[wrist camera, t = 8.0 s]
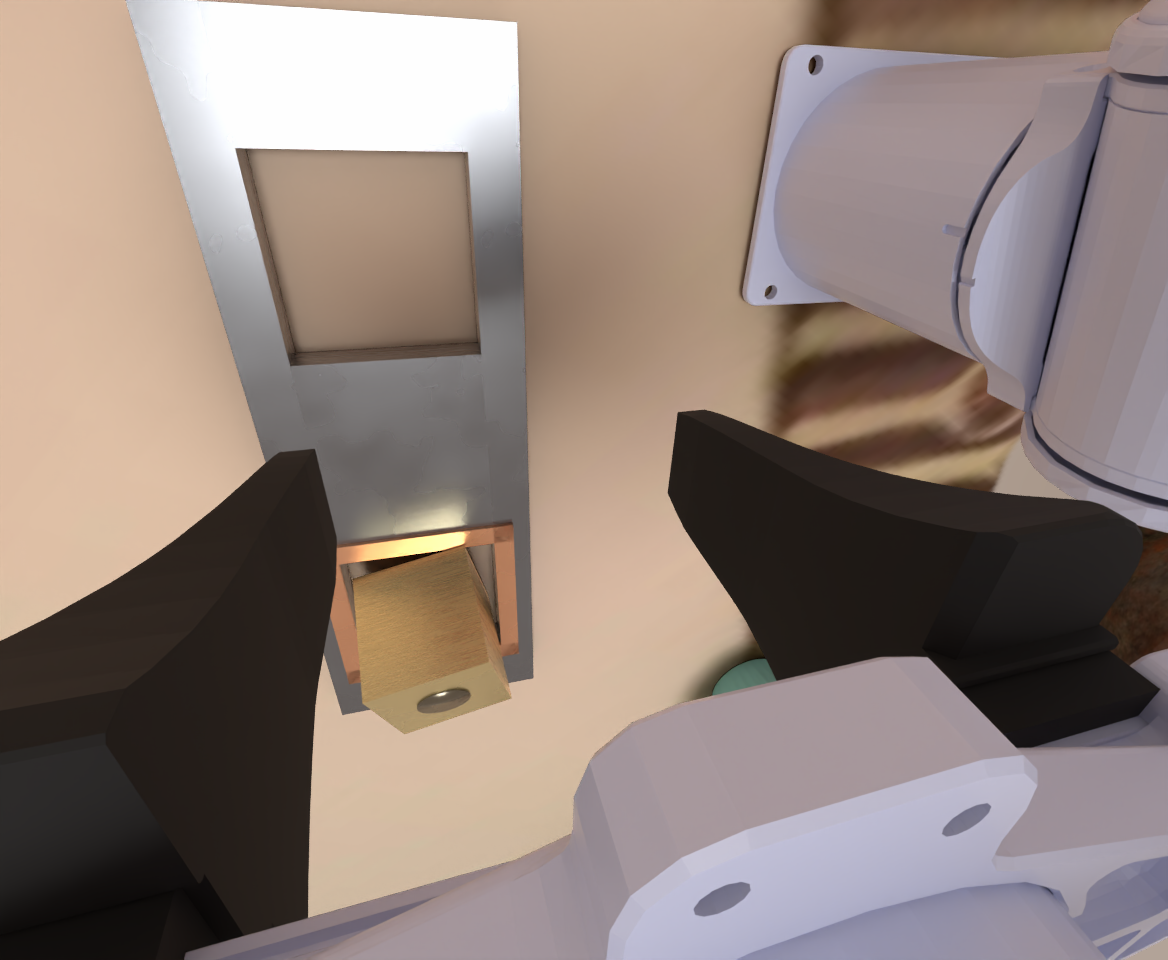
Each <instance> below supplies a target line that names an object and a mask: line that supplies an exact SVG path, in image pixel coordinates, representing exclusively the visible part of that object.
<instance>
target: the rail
mask: <svg viewBox="0 0 1168 960" xmlns="http://www.w3.org/2000/svg"><path fill="white" fill-rule="evenodd" d="M125 1H126V4H127V7H128V11H129V14H130V17H131V20H132V24H133V27H134V30H135V34H136V37H137V40H138V44H139V47H140V50H141V53H142V57H143V60H144V63H145V67H146V70H147V73H148V76H149V80H150V83H151V86H152V90H153V93H154V96H155V99H156V103H157V106H158V109H159V113H160V116H161V119H162V123H163V126H164V129H165V132H166V136H167V139H168V142H169V146H170V149H171V152H172V155H173V159H174V162H175V165H176V169H177V172H178V175H179V178H180V182H181V185H182V188H183V192H184V195H185V198H186V201H187V205H188V208H189V211H190V215H191V218H192V221H193V225H194V228H195V231H196V234H197V238H198V241H199V244H200V248H201V251H202V254H203V257H204V261H205V264H206V267H207V271H208V274H209V277H210V280H211V284H212V287H213V290H214V294H215V297H216V300H217V304H218V307H219V310H220V313H221V317H222V320H223V323H224V327H225V330H226V333H227V336H228V340H229V343H230V346H231V350H232V353H233V356H234V359H235V363H236V366H237V369H238V373H239V376H240V379H241V383H242V386H243V389H244V392H245V396H246V399H247V402H248V406H249V409H250V412H251V415H252V419H253V422H254V425H255V429H256V432H257V435H258V438H259V442H260V445H261V448H262V452H263V455H264V458H265V462H267V461H269V460H270V459H271V458H272V457H273V456H275V455H276V454H277V453H279V452H287V451H297V450H307V449H315V451H316V455H317V459H318V463H319V467H320V471H321V475H322V479H323V483H324V487H325V491H326V496H327V500H328V504H329V508H330V512H331V516H332V520H333V524H334V528H335V532H336V536H337V564H336V584H335V590H334V596H333V602H332V608H331V614H330V620H329V625H328V631H327V636H326V642H325V648H324V656H325V659H326V662H327V666H328V669H329V672H330V675H331V679H332V682H333V685H334V689H335V692H336V695H337V698H338V702H339V705H340V708H341V712H342V715H344V714H350V713H355V712H360V711H365V710H370V709H369V708H368V707H367V706H365V705H364V704H363V703H362V691H361V678H360V665H359V653H358V640H357V627H356V615H355V602H354V591H353V587H352V583H351V579H350V574H349V570H348V566H347V563H354V562H362V561H369V560H376V559H384V558H391V557H398V556H406V555H413V554H420V553H428V552H435V551H442V550H449V549H453V548H457V547H460V546H463V545H464V546H465V547H471V546H479V545H486V544H492V556H493V570H494V584H495V599H496V613H497V623H495V628H496V632H497V637H498V641H499V645H500V650H501V654H502V658H503V663H504V667H505V671H506V676H507V680H508V683H511V682H516V681H521V680H526V679H531V678H533V643H532V603H531V563H530V523H529V483H528V443H527V403H526V363H525V324H524V284H523V244H522V204H521V164H520V124H519V84H518V44H517V22H505V21H490V20H475V19H461V18H446V17H431V16H416V15H402V14H387V13H372V12H358V11H343V10H328V9H314V8H299V7H284V6H270V5H255V4H240V3H225V2H211V1H196V0H125ZM246 148H257V149H317V150H378V151H439V152H464V154H465V168H466V183H467V197H468V211H469V226H470V240H471V254H472V269H473V283H474V297H475V312H476V326H477V340H478V343H460V344H443V345H426V346H408V347H391V348H374V349H356V350H339V351H322V352H304V353H295V349H294V345H293V341H292V337H291V332H290V328H289V324H288V320H287V316H286V312H285V308H284V304H283V300H282V296H281V291H280V287H279V283H278V279H277V275H276V271H275V267H274V263H273V259H272V255H271V250H270V246H269V242H268V238H267V234H266V230H265V226H264V222H263V218H262V214H261V209H260V205H259V201H258V197H257V193H256V189H255V185H254V181H253V177H252V173H251V168H250V164H249V160H248V156H247V152H246Z"/></svg>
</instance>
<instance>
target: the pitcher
mask: <svg viewBox="0 0 1168 960" xmlns="http://www.w3.org/2000/svg"><path fill="white" fill-rule="evenodd" d="M1137 526H1138V527H1139V529H1140V530H1141V532H1142V537H1143V552H1142V555H1141V558H1140V561H1139V564H1138V566H1137V568H1136V570H1135V571H1134V573H1133V575H1132V576H1131V578H1130V580H1129V581H1128V583H1127V584H1126V586H1125V587H1124V589H1123V590H1122V591H1121V593H1120V594H1119V596H1118V597H1117V599H1116V600H1115V602H1114V603H1113V604H1112V606H1111V607H1110V609H1109V610H1108V612H1107V613H1106V615H1105V616H1104V617H1103V619H1102V620H1101V622H1100V623H1099V624H1100V625H1101V626H1103V627H1104V628H1105V629H1107V630H1108V631H1110V632H1111V633H1112V634H1114V635H1115V636H1116V637H1117V638H1118V641H1119V644H1118V645H1117V647H1116V648H1115V649H1113V650H1109V651H1111V652H1112V653H1113V654H1115V655H1116V656H1117V657H1119V658H1120V659H1121V660H1123V661H1124V662H1125V663H1127V664H1128V665H1129V666H1130V665H1131V664H1132V663H1134V662H1135V661H1137V660H1138V659H1140V658H1141V657H1143V656H1146V655H1148V654H1150V653H1154V652H1158V651H1161V650H1165V649H1168V533H1166V532H1161V531H1157V530H1153V529H1149V528H1146V527H1142V526H1139V525H1137Z"/></svg>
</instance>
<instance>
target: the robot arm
mask: <svg viewBox="0 0 1168 960" xmlns="http://www.w3.org/2000/svg"><path fill="white" fill-rule="evenodd" d="M812 57H814V58H815V60H816V68H815V70H814V72H813V73H812V74H810V72H809V71H808V64H809V61H810V59H811V58H812ZM771 285H772V290H771V292H770V294H769V295H768V296H765V290H766V288H768V287H769V286H771ZM743 298H744V300H745V301H746V302H747V303H749V304H751V305H754V306H762V305H782V304H803V303H824V302H847V303H849V304H851V305H853V306H855V307H858V308H860V309H862V310H864V311H867V312H869V313H871V314H873V315H875V316H878V317H880V318H882V319H884V320H886V321H889V322H891V323H893V324H895V325H898V326H900V327H902V328H904V329H906V330H909V331H911V332H913V333H915V334H918V335H920V336H922V337H924V338H926V339H929V340H931V341H933V342H935V343H938V344H940V345H942V346H944V347H946V348H949V349H951V350H953V351H955V352H957V353H960V354H962V355H964V356H966V357H969V358H971V359H973V360H975V361H977V362H980V363H982V364H983V365H984V366H985V368H986V371H987V376H988V388H987V393H988V394H990V395H992V396H994V397H996V398H998V399H1000V400H1002V401H1004V402H1006V403H1008V404H1010V405H1012V406H1014V407H1016V408H1018V409H1020V410H1022V411H1024V412H1026V414H1025V415H1024V418H1023V423H1022V427H1021V443H1022V446H1023V449H1024V452H1025V455H1026V457H1027V458H1028V460H1029V461H1030V463H1031V464H1032V465H1033V467H1034V468H1035V469H1036V470H1037V471H1038V472H1039V473H1040V474H1041V475H1042V476H1043V477H1044V478H1045V479H1046V480H1048V481H1049V482H1050V483H1052V484H1053V485H1055V486H1056V487H1057V488H1059V489H1060V490H1062V491H1063V492H1065V493H1066V494H1068V495H1070V496H1071V497H1073V498H1075V499H1077V500H1072V499H1058V498H1045V497H1031V496H1018V495H1010V494H1002V493H994V492H986V491H979V490H971V489H965V488H959V487H952V486H946V485H941V484H936V483H931V482H926V481H921V480H916V479H911V478H906V477H902V476H897V475H893V474H889V473H885V472H881V471H877V470H874V469H870V468H867V467H863V466H859V465H856V464H852V463H849V462H846V461H843V460H839V459H836V458H833V457H830V456H828V455H825V454H822V453H819V452H816V451H813V450H811V449H808V448H805V447H802V446H800V445H797V444H794V443H792V442H789V441H787V440H784V439H782V438H779V437H777V436H774V435H772V434H769V433H767V432H764V431H762V430H760V429H757V428H755V427H752V426H750V425H747V424H745V423H742V422H740V421H737V420H735V419H732V418H729V417H727V416H724V415H721V414H718V413H715V412H711V411H707V410H697V411H687V412H678V415H677V423H676V431H675V439H674V447H673V455H672V463H671V471H670V479H669V487H668V495H669V497H670V499H671V501H672V504H673V506H674V508H675V510H676V513H677V515H678V517H679V519H680V521H681V523H682V525H683V527H684V529H685V530H686V532H687V533H688V535H689V536H690V538H691V539H692V541H693V542H694V544H695V545H696V547H697V548H698V550H699V551H700V553H701V554H702V556H703V557H704V559H705V560H706V562H707V563H708V565H709V566H710V568H711V569H712V570H713V572H714V573H715V575H716V576H717V578H718V579H719V581H720V582H721V584H722V585H723V586H724V588H725V589H726V591H727V592H728V594H729V595H730V597H731V598H732V600H733V601H734V603H735V604H736V606H737V607H738V609H739V610H740V612H741V614H742V615H743V617H744V619H745V620H746V622H747V624H748V626H749V628H750V630H751V631H752V633H753V635H754V637H755V639H756V641H757V643H758V645H759V647H760V649H761V650H762V652H763V654H764V656H765V658H766V660H767V662H768V664H769V666H770V668H771V670H772V672H773V674H774V676H775V679H776V681H774V682H770V683H766V684H761V685H757V686H753V687H748V688H744V689H740V690H735V691H731V692H727V693H722V694H718V695H714V696H709V697H705V698H701V699H696V700H692V701H688V702H683V703H679V704H677V705H674V706H672V707H669V708H667V709H664V710H662V711H659V712H657V713H654V714H652V715H649V716H647V717H644V718H642V719H639V720H637V721H635V722H632V723H631V724H629V725H628V726H627V727H626V728H625V729H623V730H622V731H621V732H620V733H619V734H617V735H616V736H615V737H614V738H613V739H611V740H610V741H609V742H608V743H607V744H605V745H604V746H603V747H602V748H601V749H599V750H598V751H597V752H596V753H595V754H594V756H593V757H592V759H591V760H590V762H589V764H588V766H587V768H586V771H585V773H584V775H583V777H582V780H581V782H580V784H579V786H578V789H577V791H576V793H575V795H574V808H573V830H572V834H569V835H567V836H565V837H563V838H561V839H559V840H557V841H554V842H552V843H550V844H548V845H546V846H544V847H542V848H540V849H537V850H535V851H533V852H531V853H529V854H527V855H525V856H523V857H521V858H518V859H516V860H513V861H510V862H506V863H502V864H499V865H495V866H492V867H488V868H485V869H481V870H478V871H474V872H470V873H467V874H463V875H460V876H456V877H453V878H449V879H445V880H442V881H438V882H435V883H431V884H428V885H424V886H420V887H417V888H413V889H410V890H406V891H403V892H399V893H395V894H392V895H388V896H385V897H381V898H378V899H374V900H371V901H367V902H363V903H360V904H356V905H353V906H349V907H346V908H342V909H338V910H335V911H331V912H328V913H324V914H321V915H317V916H313V917H310V918H308V869H309V828H310V798H311V774H312V753H313V735H314V718H315V704H316V696H317V688H318V681H319V676H320V670H321V664H322V659H323V653H324V648H325V642H326V636H327V631H328V625H329V620H330V614H331V608H332V602H333V596H334V590H335V584H336V564H337V536H336V532H335V528H334V524H333V520H332V516H331V512H330V508H329V504H328V500H327V496H326V491H325V487H324V483H323V479H322V475H321V471H320V467H319V463H318V459H317V455H316V451H315V449H307V450H297V451H287V452H279V453H277V454H276V455H275V456H273V457H272V458H271V459H270V460H269V461H267V462H266V463H265V464H264V465H263V466H262V467H261V468H260V469H259V470H257V471H256V472H255V473H254V474H253V475H252V476H251V477H250V478H249V479H248V480H246V481H245V482H244V483H243V484H242V485H241V486H240V487H239V488H238V489H236V490H235V491H234V492H233V493H232V494H231V495H230V496H228V497H227V498H226V499H225V500H224V501H223V502H222V503H221V504H219V505H218V506H217V507H216V508H215V509H213V510H212V511H211V512H210V513H208V514H207V515H206V516H205V517H203V518H202V519H201V520H200V521H198V522H197V523H196V524H195V525H193V526H192V527H191V528H190V529H188V530H187V531H186V532H185V533H183V534H182V535H181V536H180V537H178V538H177V539H176V540H174V541H173V542H172V543H170V544H169V545H167V546H166V547H165V548H163V549H162V550H160V551H159V552H158V553H156V554H155V555H153V556H152V557H150V558H149V559H147V560H146V561H144V562H143V563H141V564H140V565H138V566H136V567H135V568H133V569H132V570H130V571H129V572H127V573H126V574H124V575H123V576H121V577H119V578H118V579H116V580H114V581H113V582H111V583H109V584H108V585H106V586H104V587H102V588H100V589H99V590H97V591H95V592H93V593H91V594H90V595H88V596H86V597H84V598H82V599H81V600H79V601H77V602H75V603H73V604H72V605H70V606H68V607H66V608H64V609H63V610H61V611H59V612H57V613H55V614H54V615H52V616H50V617H48V618H46V619H44V620H42V621H40V622H38V623H36V624H34V625H32V626H30V627H28V628H26V629H24V630H22V631H20V632H18V633H16V634H14V635H12V636H10V637H8V638H6V639H4V640H2V641H0V960H1124V959H1126V958H1128V957H1130V956H1132V955H1134V954H1136V953H1138V952H1140V951H1142V950H1144V949H1146V948H1148V947H1150V946H1152V945H1154V944H1156V943H1158V942H1160V941H1162V940H1164V939H1166V938H1168V649H1165V650H1161V651H1158V652H1154V653H1150V654H1148V655H1146V656H1143V657H1141V658H1140V659H1138V660H1137V661H1135V662H1134V663H1132V664H1131V665H1130V666H1129V665H1128V664H1127V663H1125V662H1124V661H1123V660H1121V659H1120V658H1119V657H1117V656H1116V655H1115V654H1113V653H1112V652H1111V651H1109V650H1113V649H1115V648H1116V647H1117V645H1118V644H1119V641H1118V638H1117V637H1116V636H1115V635H1114V634H1112V633H1111V632H1110V631H1108V630H1107V629H1105V628H1104V627H1103V626H1101V625H1100V624H1099V623H1100V622H1101V620H1102V619H1103V617H1104V616H1105V615H1106V613H1107V612H1108V610H1109V609H1110V607H1111V606H1112V604H1113V603H1114V602H1115V600H1116V599H1117V597H1118V596H1119V594H1120V593H1121V591H1122V590H1123V589H1124V587H1125V586H1126V584H1127V583H1128V581H1129V580H1130V578H1131V576H1132V575H1133V573H1134V571H1135V570H1136V568H1137V566H1138V564H1139V561H1140V558H1141V555H1142V552H1143V537H1142V532H1141V530H1140V529H1139V527H1138V526H1137V525H1139V526H1142V527H1146V528H1149V529H1153V530H1157V531H1161V532H1166V533H1168V0H1150V1H1149V2H1148V3H1147V4H1146V5H1145V6H1144V7H1143V8H1142V9H1141V11H1140V12H1137V13H1135V14H1133V15H1132V16H1130V17H1128V18H1127V19H1125V20H1124V21H1123V22H1122V23H1121V24H1120V25H1119V26H1118V28H1117V29H1116V31H1115V33H1114V35H1113V37H1112V41H1111V46H1110V50H1109V51H1097V52H1083V53H1069V54H1055V55H1041V56H1027V57H1013V58H999V57H984V56H969V55H954V54H940V53H925V52H910V51H895V50H880V49H865V48H850V47H835V46H820V45H805V44H804V45H798V46H793V47H792V48H791V49H789V50H788V51H787V53H786V54H785V56H784V58H783V61H782V64H781V70H780V76H779V82H778V87H777V93H776V99H775V105H774V111H773V117H772V122H771V128H770V134H769V140H768V146H767V151H766V157H765V163H764V169H763V175H762V181H761V186H760V192H759V198H758V204H757V210H756V215H755V221H754V227H753V233H752V239H751V245H750V250H749V256H748V262H747V268H746V274H745V280H744V285H743Z"/></svg>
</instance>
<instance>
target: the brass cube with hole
mask: <svg viewBox="0 0 1168 960" xmlns="http://www.w3.org/2000/svg"><path fill="white" fill-rule="evenodd" d="M353 589H354V602H355V615H356V627H357V640H358V653H359V665H360V678H361V691H362V703H363V704H364V705H365V706H367V707H368V708H369V709H371V710H372V711H373V712H375V713H376V714H378V715H379V716H380V717H382V718H383V719H384V720H386V721H387V722H389V723H390V724H391V725H393V726H394V727H395V728H397V729H398V730H399V731H401V732H402V733H404V734H407V733H410V732H413V731H416V730H419V729H422V728H425V727H428V726H431V725H433V724H436V723H439V722H442V721H445V720H448V719H451V718H454V717H457V716H460V715H463V714H466V713H469V712H472V711H475V710H478V709H481V708H484V707H487V706H490V705H493V704H496V703H499V702H502V701H505V700H508V699H511V693H510V689H509V685H508V680H507V676H506V671H505V667H504V663H503V658H502V654H501V650H500V645H499V641H498V637H497V632H496V628H495V624H494V619H493V615H492V611H491V606H490V602H489V598H488V593H487V591H486V589H485V587H484V585H483V583H482V581H481V579H480V577H479V575H478V573H477V570H476V568H475V566H474V564H473V562H472V560H471V558H470V556H469V554H468V552H467V550H466V548H465V546H464V545H463V546H460V547H457V548H453V549H450V550H447V551H443V552H440V553H437V554H434V555H430V556H427V557H424V558H420V559H417V560H414V561H410V562H407V563H404V564H400V565H397V566H394V567H391V568H387V569H384V570H381V571H377V572H374V573H371V574H367V575H364V576H361V577H357V578H354V579H353Z"/></svg>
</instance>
